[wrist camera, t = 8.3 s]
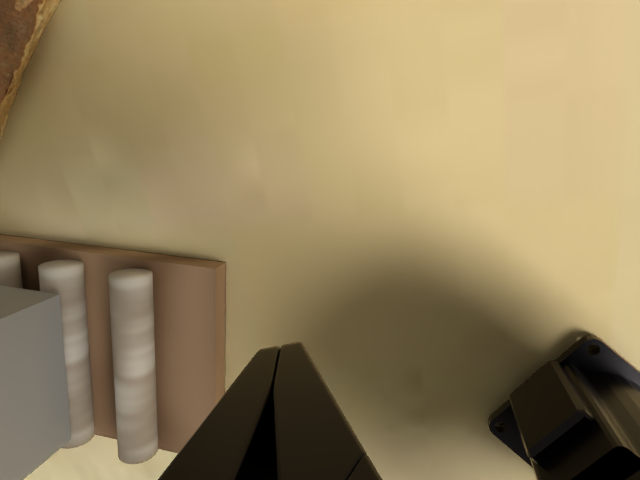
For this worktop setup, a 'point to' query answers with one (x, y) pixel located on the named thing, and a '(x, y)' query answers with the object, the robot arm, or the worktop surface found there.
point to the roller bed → (173, 330)
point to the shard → (19, 44)
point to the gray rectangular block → (31, 381)
